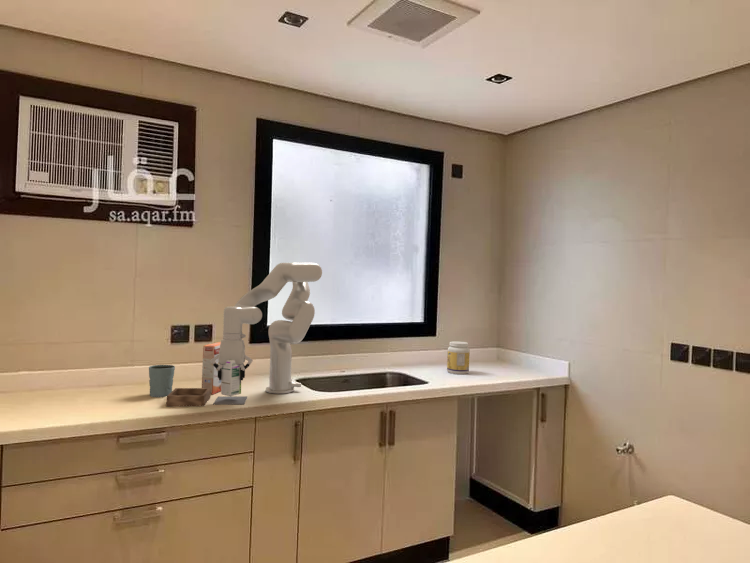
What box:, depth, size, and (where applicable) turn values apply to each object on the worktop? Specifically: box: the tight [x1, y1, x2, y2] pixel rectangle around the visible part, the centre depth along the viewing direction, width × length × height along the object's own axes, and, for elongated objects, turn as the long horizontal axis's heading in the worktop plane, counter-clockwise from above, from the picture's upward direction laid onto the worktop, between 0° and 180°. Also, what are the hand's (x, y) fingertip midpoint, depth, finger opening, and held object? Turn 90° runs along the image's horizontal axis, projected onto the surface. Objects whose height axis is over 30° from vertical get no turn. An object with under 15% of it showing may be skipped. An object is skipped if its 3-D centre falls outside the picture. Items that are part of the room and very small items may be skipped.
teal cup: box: [148, 364, 176, 398], centre depth 219 cm, size 10×10×12 cm
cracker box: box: [201, 341, 221, 395], centre depth 228 cm, size 14×6×21 cm, turn 168°
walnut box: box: [166, 387, 212, 407], centre depth 208 cm, size 14×14×4 cm
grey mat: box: [212, 395, 248, 406], centre depth 212 cm, size 12×12×1 cm
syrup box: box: [220, 360, 242, 396], centre depth 212 cm, size 6×6×14 cm
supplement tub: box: [446, 340, 471, 375], centre depth 290 cm, size 12×12×17 cm
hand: (231, 379), depth 212 cm, fingers closed on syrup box, 8 cm apart
